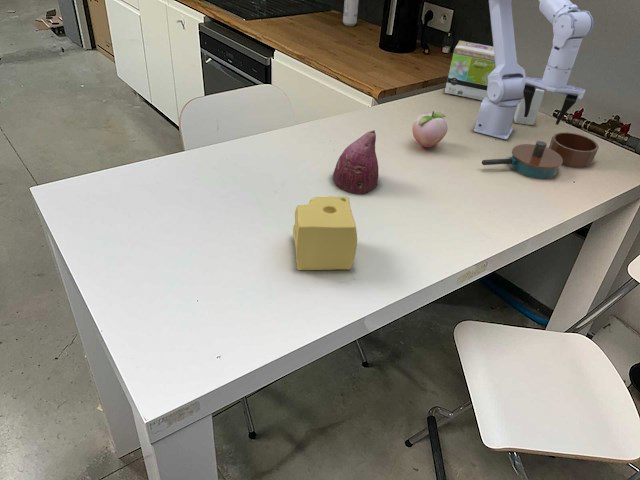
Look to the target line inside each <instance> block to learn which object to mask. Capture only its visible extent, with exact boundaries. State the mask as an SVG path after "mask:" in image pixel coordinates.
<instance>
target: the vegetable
mask: <svg viewBox="0 0 640 480" xmlns="http://www.w3.org/2000/svg"><path fill="white" fill-rule="evenodd" d="M376 140H377V133H376V130H375V129H372V130H368V131H366V132H365V133H364V134H363V135H362V136H361V137H359V138H358V139H356V140H354V141H353V142H351V143H350V144H349V145H348V146H346V148H345V149H344V150H343V151H342V153H341V155H340V156H339V157H338V160H337V162H336V164H335V168H334V170H333V174H332V181H333V182H334V184H335V186H336V187H338V189H341V190H343V191H345V192H348V193H350V194H357V195H363V194H366V193H369V192H371V191H373V190H375V189H376V188H377V186H378V185H379V184H378V182H379V161H378V158H377V153H376V142H377V141H376Z"/></svg>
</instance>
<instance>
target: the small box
mask: <svg viewBox="0 0 640 480" xmlns="http://www.w3.org/2000/svg"><path fill="white" fill-rule="evenodd" d="M544 95H545V90H540V89H536V90H535V93H534V96H533V99H532V102H531V107H530V111H529V114H528V116H527V117H524V115H525V99H521V102H520V103H519V104H518V105H517V109H516V112H515V115H514V118H513V122H514V123H515V124H519V125H520V124H521V125H529V126H534V125H535V124H536V120H537V117H538V114H539V111H540V108H541V104H542V101H543V99H544Z"/></svg>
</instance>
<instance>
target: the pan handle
mask: <svg viewBox="0 0 640 480" xmlns="http://www.w3.org/2000/svg"><path fill="white" fill-rule="evenodd" d="M517 163H518V160H517V159H515V158H514V157H512V156H510V157H509V158H491V159H483V160H482V161H481V165H483V166H492V165H493V166H494V165H511V164H512V165H517Z"/></svg>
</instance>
